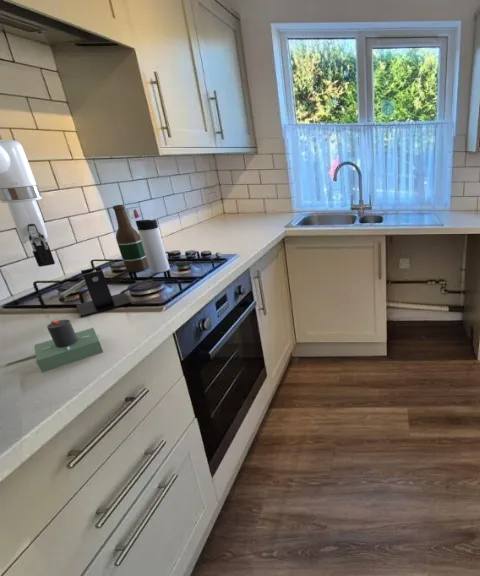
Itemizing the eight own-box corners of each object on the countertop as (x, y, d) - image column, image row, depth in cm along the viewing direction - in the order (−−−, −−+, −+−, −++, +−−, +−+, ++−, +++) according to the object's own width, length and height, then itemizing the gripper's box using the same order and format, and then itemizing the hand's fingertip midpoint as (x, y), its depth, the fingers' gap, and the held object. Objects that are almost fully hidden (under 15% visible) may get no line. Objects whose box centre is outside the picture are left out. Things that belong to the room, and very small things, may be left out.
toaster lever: (63, 304, 97) (55, 298, 96) (61, 297, 101) (53, 291, 100) (103, 279, 102) (96, 273, 100) (100, 274, 106) (93, 267, 104)
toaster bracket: (82, 320, 99) (66, 281, 95) (77, 309, 106) (62, 271, 101) (132, 306, 107) (120, 269, 102) (125, 296, 114) (113, 261, 109)
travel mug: (146, 275, 131) (129, 221, 123) (159, 269, 137) (143, 216, 129) (162, 276, 130) (146, 221, 122) (174, 269, 136) (159, 216, 128)
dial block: (41, 372, 78) (35, 360, 77) (39, 355, 84) (34, 344, 83) (103, 351, 85) (98, 340, 83) (97, 337, 91) (93, 326, 89)
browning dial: (81, 339, 84) (73, 319, 82) (63, 348, 81) (54, 328, 79) (69, 337, 85) (61, 317, 83) (51, 346, 82) (41, 325, 80)
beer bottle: (154, 266, 139) (136, 204, 129) (134, 273, 133) (113, 208, 123) (141, 264, 142) (122, 202, 133) (121, 271, 136) (99, 206, 126)
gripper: (-2, 193, 91) (25, 257, 98) (-4, 199, 80) (27, 272, 86) (38, 189, 96) (61, 251, 103) (41, 195, 84) (67, 265, 91)
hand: (45, 261), depth 94 cm, fingers open, 9 cm apart
